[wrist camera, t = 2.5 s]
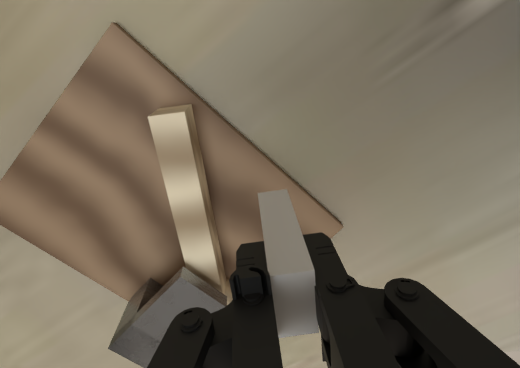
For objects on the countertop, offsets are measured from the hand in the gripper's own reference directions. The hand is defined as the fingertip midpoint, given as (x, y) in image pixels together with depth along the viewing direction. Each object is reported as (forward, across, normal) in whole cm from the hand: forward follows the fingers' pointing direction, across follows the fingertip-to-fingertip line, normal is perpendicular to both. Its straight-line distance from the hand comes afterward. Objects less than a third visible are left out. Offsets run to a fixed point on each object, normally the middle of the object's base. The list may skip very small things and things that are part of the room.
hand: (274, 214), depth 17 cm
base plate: (+17, +11, +8) cm, 22 cm away
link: (+16, +7, +8) cm, 19 cm away
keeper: (+16, +11, +16) cm, 25 cm away
